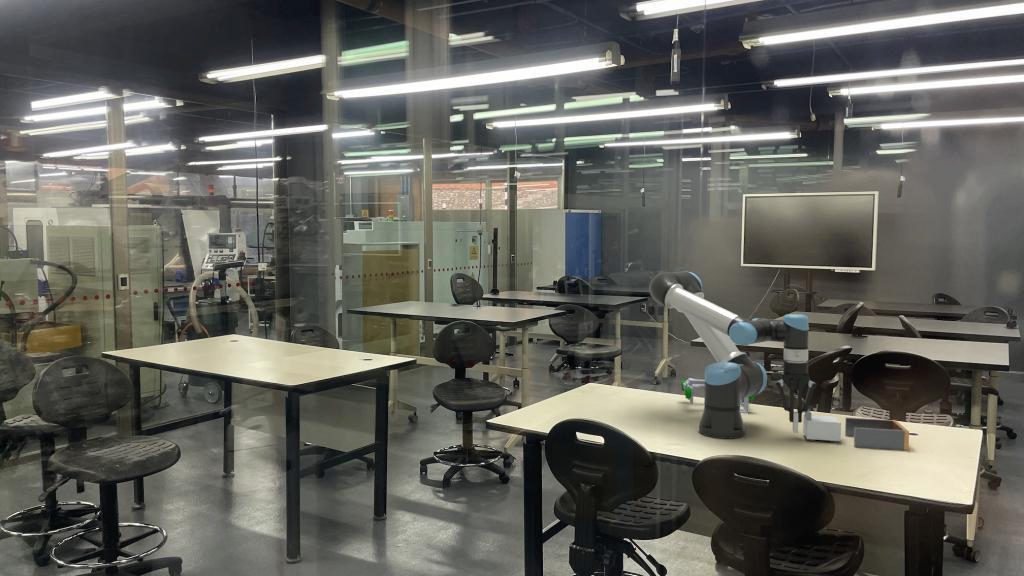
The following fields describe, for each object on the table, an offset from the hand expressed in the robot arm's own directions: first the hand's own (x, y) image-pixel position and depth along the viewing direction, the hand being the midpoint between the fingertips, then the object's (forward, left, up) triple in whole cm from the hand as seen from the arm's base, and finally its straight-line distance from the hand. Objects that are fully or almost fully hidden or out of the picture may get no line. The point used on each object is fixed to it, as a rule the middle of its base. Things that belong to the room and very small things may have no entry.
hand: (795, 431), depth 226 cm
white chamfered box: (+8, 0, -2) cm, 8 cm away
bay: (+24, 0, -2) cm, 24 cm away
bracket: (-24, +39, -2) cm, 46 cm away
